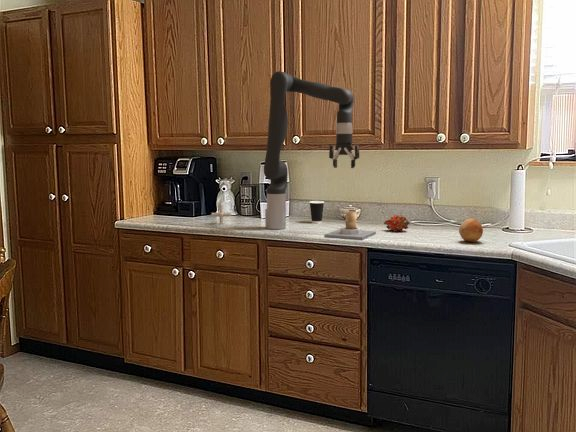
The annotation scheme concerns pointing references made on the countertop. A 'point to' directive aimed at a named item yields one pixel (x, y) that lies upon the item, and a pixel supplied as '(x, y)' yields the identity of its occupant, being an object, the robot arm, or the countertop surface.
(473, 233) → the onion
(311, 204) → the dixie cup
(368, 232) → the hub plate
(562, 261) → the countertop surface
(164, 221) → the countertop surface
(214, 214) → the pipe connector
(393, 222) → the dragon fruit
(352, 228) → the tan cylinder
